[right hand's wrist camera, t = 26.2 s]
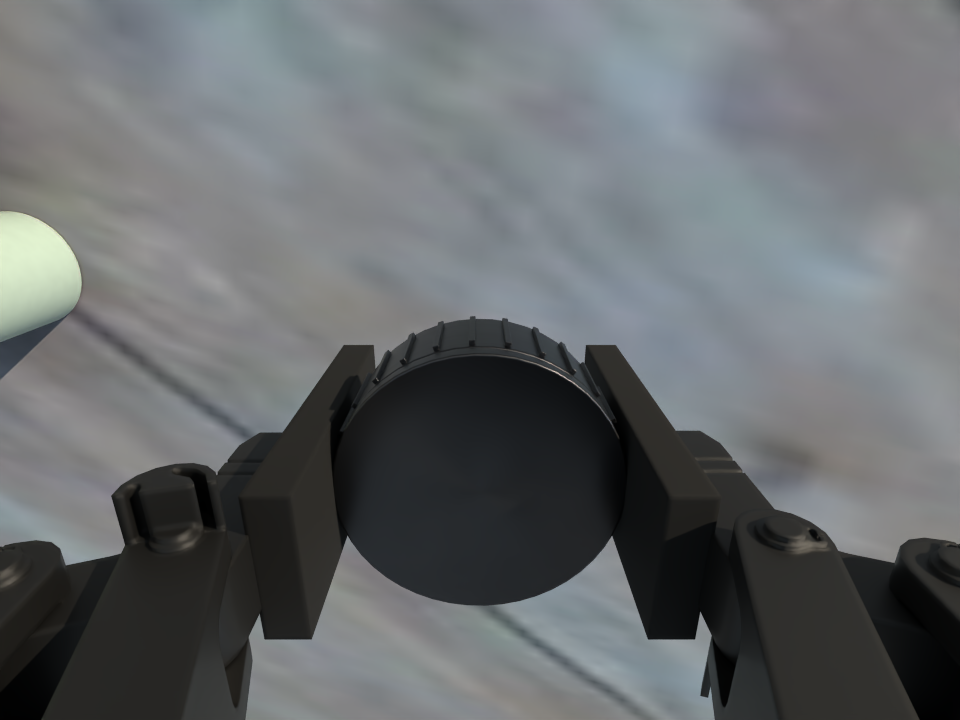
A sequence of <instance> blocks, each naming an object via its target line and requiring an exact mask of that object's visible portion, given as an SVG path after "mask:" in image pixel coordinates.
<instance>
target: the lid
mask: <svg viewBox="0 0 960 720" xmlns="http://www.w3.org/2000/svg"><path fill="white" fill-rule="evenodd" d="M614 423H617V421H616V419H615V417H614V415H613V413H612V411H611V409H610V407H609V405H608V403H607V401H606V399H605V397H604V395H603V393H602V391H601V389H600V388H599V386H597V387H596V385H595V383H594V381H593V379H592V377H591V375H590V373H589V371H588V369H587V367H586V365H585V364H584V362H582V363H581V364H580V363H579V362H578V361H577V360H576V359H575V358H574V357H573V356H572V355H571V354H570V353H569V352H568V351H567V348H566V346H565V344H564V343H562V342H560V343H559V344H558V343H557V342H555V341H554V340H552V339H550V338H549V337H547V336H545V335H544V334H542V333H539V330H538V328H536V327H533V329H530V328H528V327H525V326H522V325H518V324H515V323H511V322H508V319H505V318H503V319H502V321H499V320H493V319H476V318H475V316H472V317H470V319H469V320H459V321H454V322H449V323H445V324H444V322H443V321H441V322H438V326H435V327H432V328H430V329H427V330H424V331H422V332H420V333H418V334H417V335H415V334H414V333H412V334H410V335H409V337H408V340H406V341H405V342H403V343H402V344H400V345H399V346H398V347H396V348H395V349H394V350H393V351H392V352H390V351H389V350H388V351H387V352H385V354H384V356H383V358H382V360H381V363H380V364H379V365H378V367H377V368H376V369H375V370H374V372H373V373H372V374H371V373H370V372H369V373H368V374H367V376H366V378H365V380H364V382H363V384H362V386H361V388H360V390H359V392H358V394H357V396H356V398H355V400H354V402H353V404H352V406H351V409H350V411H349V413H348V415H347V417H346V419H345V421H344V423H343V425H342V427H341V429H340V431H339V434H338V435H340V436H341V438H340V441H339V443H338V446H337V449H336V454H335V458H334V462H333V487H334V497H335V504H336V509H337V513H338V515H339V518H340V520H341V523H342V525H343V528H344V530H345V531H346V533H347V535H348V537H349V538H350V540H351V542H352V543H353V545H354V546H355V547H356V548H357V550H358V551H359V552H360V554H361V555H362V556H363V557H364V558H365V559H366V560H367V561H368V562H369V563H370V564H371V565H372V566H373V567H374V568H375V569H377V570H378V571H379V572H380V573H382V574H383V575H384V576H385V577H387V578H388V579H390V580H392V581H393V582H395V583H397V584H398V585H400V586H402V587H404V588H406V589H408V590H410V591H412V592H414V593H417V594H419V595H422V596H425V597H428V598H431V599H435V600H439V601H443V602H448V603H454V604H462V605H483V606H485V605H498V604H506V603H511V602H517V601H521V600H524V599H528V598H531V597H535V596H537V595H540V594H542V593H545V592H547V591H550V590H552V589H554V588H556V587H557V586H559V585H561V584H563V583H565V582H567V581H568V580H569V579H571V578H572V577H574V576H575V575H577V574H578V573H579V572H581V571H582V570H583V569H584V568H585V567H586V566H587V565H588V564H590V563H591V562H592V561H593V560H594V559H595V558H596V556H597V555H598V554H599V553H600V552H601V551H602V549H603V548H604V547H605V545H606V544H607V542H608V541H609V539H610V538H611V536H612V535H613V533H614V531H615V529H616V526H617V524H618V522H619V520H620V517H621V514H622V511H623V508H624V500H625V492H626V482H627V465H626V459H625V453H624V450H623V447H622V444H621V441H620V438H619V435H618V433H617V431H616V429H615V427H614V425H613V424H614Z"/></svg>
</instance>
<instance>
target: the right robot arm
mask: <svg viewBox="0 0 960 720" xmlns="http://www.w3.org/2000/svg"><path fill="white" fill-rule="evenodd" d="M585 365H586V367H587V369H588V371H589V373H590V375H591V377H592V379H593V381H594V383H595V385H596V387H597V386H599V388H600V389H601V391H602V393H603V395H604V397H605V399H606V401H607V403H608V405H609V407H610V409H611V411H612V413H613V415H614V417H615V419H616V421H617V423H614V424H613V425H614V427H615V429H616V431H617V433H618V435H619V438H620V441H621V444H622V447H623V450H624V453H625V459H626V465H627V482H626V492H625V500H624V508H623V511H622V514H621V517H620V520H619V522H618V524H617V526H616V529H615V531H614V533H613V535H612V536H613V539H614V542H615V545H616V548H617V551H618V554H619V556H620V559H621V562H622V565H623V568H624V571H625V574H626V577H627V580H628V583H629V586H630V588H631V591H632V594H633V597H634V600H635V603H636V606H637V609H638V612H639V615H640V617H641V620H642V623H643V626H644V629H645V632H646V635H647V638H648V639H695V637H696V631H697V626H698V621H699V615H700V612H701V614H702V616H703V618H704V620H705V622H706V624H707V626H708V628H709V630H710V632H711V635H712V637H711V642H710V647H709V652H708V657H707V662H706V667H705V672H704V677H703V682H702V688H701V695H700V696H703V697H707V698H708V695H709V690H710V686H711V692H712V700H713V708H714V716H715V720H960V544H959V545H958V544H956V543H954V542H950V541H946V540H937V539H930V538H919V539H911V540H908V541H907V542H905V543H904V544H903V545H901V546H900V549H899V552H898V555H897V558H896V561H895V563H891V562H886V561H881V560H877V559H872V558H867V557H862V556H857V555H852V554H848V553H844V552H840V551H838V550H837V548H836V546H835V544H834V543H833V541H832V540H831V539H830V538H829V536H828V535H827V534H826V533H825V532H824V531H823V530H821V529H820V528H818V527H817V526H816V525H814V524H813V523H811V522H810V521H807V520H805V519H803V518H801V517H798V516H796V515H794V514H791V513H787V512H783V511H779V510H775V509H774V508H773V507H772V506H771V504H770V503H769V502H768V501H767V500H766V498H765V497H764V496H763V495H762V493H761V492H760V491H759V490H758V489H757V487H756V486H755V485H754V484H753V483H752V481H751V480H750V479H749V478H748V476H747V475H746V474H745V473H742V469H741V468H740V467H739V466H738V464H737V463H736V462H735V461H732V457H731V456H730V455H729V453H728V452H727V451H726V450H725V449H724V447H723V446H722V445H721V444H720V443H719V442H717V441H716V440H714V439H712V438H711V437H709V436H707V435H706V434H704V433H703V432H701V431H675V429H674V428H673V426H672V425H671V423H670V422H669V421H668V419H667V418H666V416H665V415H664V413H663V412H662V411H661V409H660V408H659V406H658V405H657V403H656V402H655V401H654V399H653V398H652V396H651V395H650V393H649V392H648V391H647V389H646V388H645V386H644V385H643V384H642V382H641V381H640V379H639V378H638V376H637V375H636V374H635V372H634V371H633V369H632V368H631V366H630V365H629V364H628V362H627V361H626V359H625V358H624V356H623V355H622V354H621V352H620V351H619V349H618V348H617V346H616V345H586V352H585ZM374 370H375V357H374V345H344V346H343V347H342V349H341V350H340V352H339V353H338V354H337V356H336V357H335V359H334V360H333V362H332V363H331V364H330V366H329V367H328V369H327V370H326V372H325V373H324V374H323V376H322V377H321V379H320V380H319V382H318V383H317V384H316V386H315V387H314V389H313V390H312V392H311V393H310V394H309V396H308V397H307V399H306V400H305V402H304V403H303V404H302V406H301V407H300V409H299V410H298V412H297V413H296V414H295V416H294V417H293V419H292V420H291V422H290V423H289V424H288V426H287V427H286V429H285V430H284V432H283V433H259V434H257V435H255V436H254V437H252V438H251V439H249V440H247V441H246V442H244V443H242V444H241V445H239V447H238V448H237V449H236V450H235V452H234V453H233V454H232V455H231V456H230V458H229V459H228V463H225V464H224V465H223V466H222V468H221V469H220V470H219V471H218V475H216V473H215V471H213V470H212V469H211V468H209V467H208V466H205V465H200V464H195V463H186V464H173V465H168V466H164V467H159V468H155V469H153V470H150V471H148V472H145V473H142V474H140V475H137V476H135V477H134V478H132V479H131V480H129V481H127V482H126V483H124V484H122V485H121V486H120V487H119V488H118V489H117V490H116V491H115V492H114V493H113V495H112V496H111V497H112V500H113V504H114V507H115V511H116V514H117V518H118V521H119V525H120V528H121V532H122V535H123V539H124V542H125V547H124V549H123V551H122V553H121V554H118V555H114V556H110V557H105V558H100V559H96V560H91V561H86V562H81V563H76V564H71V565H65V562H64V559H63V556H62V553H61V550H60V548H58V547H57V546H56V545H54V544H53V543H52V542H45V541H37V540H35V541H27V542H20V543H13V544H9V545H5V546H4V547H0V720H245V718H246V710H247V701H248V693H249V685H250V677H251V669H252V653H251V647H250V642H249V635H250V633H251V630H252V628H253V626H254V624H255V622H256V620H257V618H258V616H259V614H260V617H261V623H262V628H263V633H264V639H312V637H313V634H314V631H315V628H316V625H317V622H318V619H319V616H320V614H321V611H322V608H323V605H324V602H325V599H326V596H327V593H328V590H329V587H330V585H331V582H332V579H333V576H334V573H335V570H336V567H337V564H338V561H339V558H340V555H341V553H342V550H343V547H344V544H345V541H346V538H347V533H346V531H345V530H344V528H343V525H342V523H341V520H340V518H339V515H338V513H337V509H336V504H335V497H334V487H333V462H334V458H335V454H336V449H337V446H338V443H339V441H340V438H341V436H340V435H338V434H339V431H340V429H341V427H342V425H343V423H344V421H345V419H346V417H347V415H348V413H349V411H350V409H351V406H352V404H353V402H354V400H355V398H356V396H357V394H358V392H359V390H360V388H361V386H362V384H363V382H364V380H365V378H366V376H367V374H368V373H369V372H370V373H371V374H372V373H373V372H374Z"/></svg>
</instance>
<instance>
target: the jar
mask: <svg viewBox="0 0 960 720" xmlns="http://www.w3.org/2000/svg"><path fill="white" fill-rule="evenodd" d="M81 286H82V281H81V273H80V268H79V265H78V262H77V260H76V258H75V255H74V254H73V252H72V250H71V249H70V247H69V246H68V244H67V243H66V242H65V240H64V239H63V238H62V237H61V236H60V235H59V234H58V233H57V232H56V231H55V230H53V229H52V228H51V227H49V226H48V225H47V224H45V223H43V222H42V221H40V220H38V219H36V218H34V217H31V216H29V215H26V214H23V213H18V212H11V211H1V212H0V342H3V341H5V340H8V339H10V338H13V337H16V336H18V335H21V334H23V333H26V332H29V331H31V330H34V329H37V328H39V327H42V326H44V325H47V324H50V323H52V322H55V321H57V320H60V319H61V318H63V317H65V316H66V315H67V314H69V313H70V312H71V311H72V309H73V308H74V307H75V305H76V304H77V302H78V299H79V297H80V293H81Z"/></svg>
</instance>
